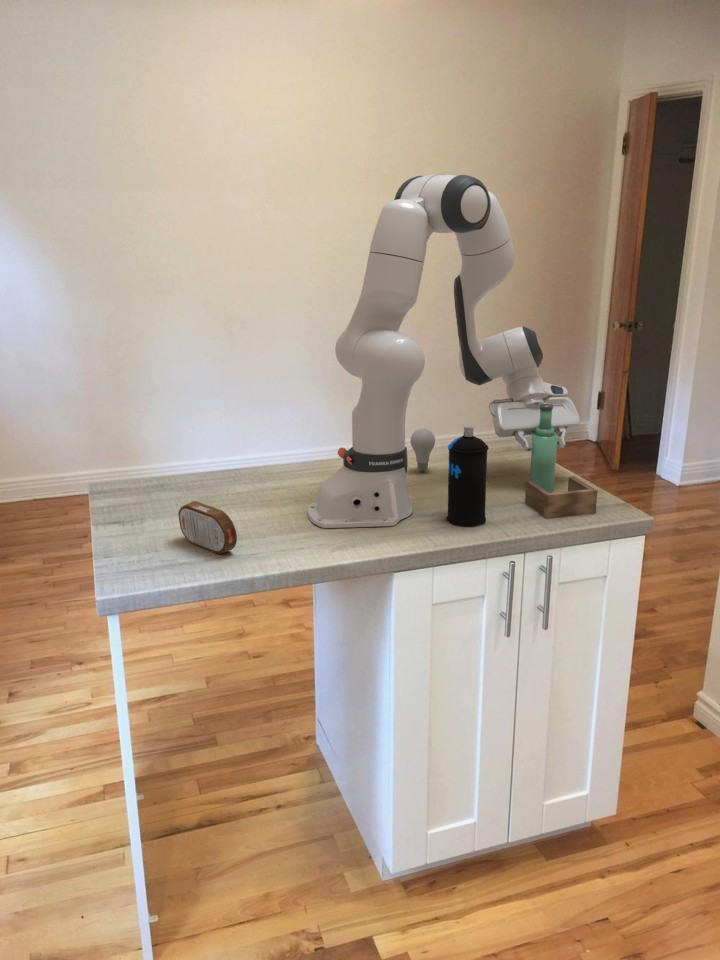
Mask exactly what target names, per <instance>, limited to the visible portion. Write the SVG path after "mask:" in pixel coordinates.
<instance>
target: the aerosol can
mask: <svg viewBox="0 0 720 960" xmlns="http://www.w3.org/2000/svg"><path fill="white" fill-rule="evenodd" d="M447 450H448V479H447V481H448V482H447V516H446V518H445V519H446V521H447V522H448V523H449V524H451V525H452V526H457V527H465V528H467V527H469V528H470V527H471V528H472V527H478V525H479V526H481V525H483V524H485V523H486V521H487V518H486V501H487V499H486V498H487V495H486V494H487V468H488V467H487V465H488V450H489V445H488V444H486V442H485V441H484V440H483V439H481V438H480V437H476V436H474V426H473V425H468V424H467V425H463V435H462V436H459V437H457V438H455V439H453V441H451V443H448V445H447Z"/></svg>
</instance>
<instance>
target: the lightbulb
mask: <svg viewBox="0 0 720 960" xmlns="http://www.w3.org/2000/svg"><path fill="white" fill-rule="evenodd" d="M435 445H436V437H435V434H434V433H433V432H432V431H431V430H429V429H428V428H418V429H416V430H415V431H414V432H413V433H412V434H411V436H410V446H411V447H412V450H413V452H414V454H415V460H416V464H417V465H416V466H417V467H416V468H417V470H418V471H420V472H421V473H424V472H425V471H427V470H428V467H429V466H428V465H429V461H430V456H431V453H432V451H433V449H434V447H435Z"/></svg>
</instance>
